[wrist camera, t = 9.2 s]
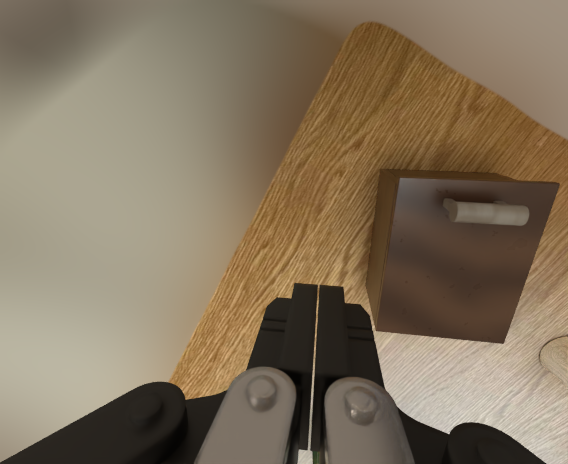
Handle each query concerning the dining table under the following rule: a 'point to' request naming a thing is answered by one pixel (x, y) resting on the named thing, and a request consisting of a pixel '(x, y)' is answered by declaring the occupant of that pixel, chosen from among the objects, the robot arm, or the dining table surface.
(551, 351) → the beer glass
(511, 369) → the dining table surface
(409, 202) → the lid
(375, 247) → the chest
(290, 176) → the dining table surface
